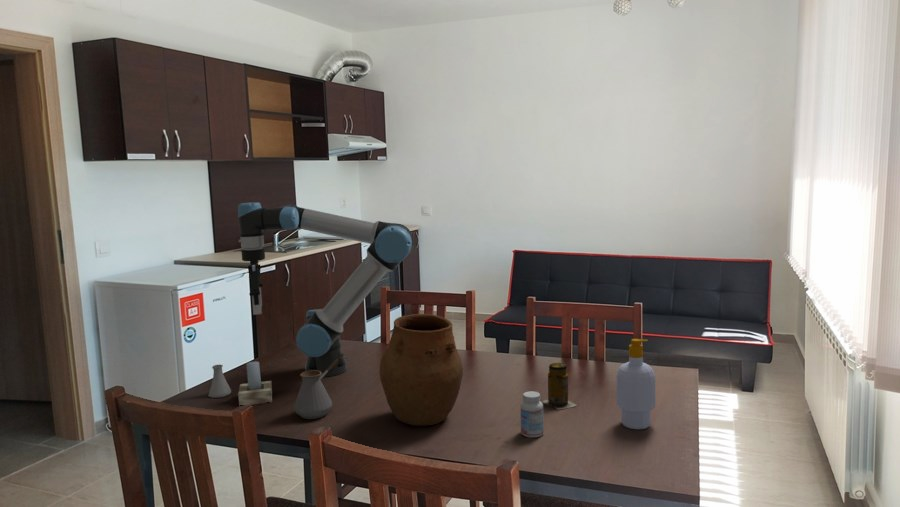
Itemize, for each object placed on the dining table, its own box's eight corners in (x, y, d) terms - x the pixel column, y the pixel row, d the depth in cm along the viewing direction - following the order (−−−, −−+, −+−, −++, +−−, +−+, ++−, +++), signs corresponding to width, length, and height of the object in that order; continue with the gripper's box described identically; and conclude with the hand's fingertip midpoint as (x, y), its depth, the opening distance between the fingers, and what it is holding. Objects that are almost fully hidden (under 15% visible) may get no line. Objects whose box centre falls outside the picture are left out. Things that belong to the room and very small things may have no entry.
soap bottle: (658, 433, 173) (658, 345, 170) (618, 431, 175) (617, 344, 171) (652, 418, 183) (653, 335, 180) (615, 417, 185) (615, 334, 182)
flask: (224, 398, 213) (221, 369, 211) (204, 398, 214) (201, 368, 213) (235, 391, 220) (233, 362, 218) (216, 390, 221) (213, 362, 220)
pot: (434, 443, 172) (430, 333, 168) (364, 427, 185) (358, 324, 181) (479, 412, 192) (476, 313, 188) (413, 399, 205) (408, 307, 201)
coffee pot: (314, 424, 188) (311, 374, 186) (286, 417, 194) (282, 369, 192) (361, 400, 206) (358, 354, 204) (333, 395, 212) (330, 350, 210)
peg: (262, 396, 214) (259, 360, 212) (262, 400, 210) (258, 364, 208) (249, 397, 213) (246, 362, 211) (249, 401, 209) (245, 365, 207)
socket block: (272, 392, 217) (271, 380, 217) (271, 402, 208) (270, 390, 207) (241, 395, 215) (240, 384, 214) (239, 406, 205) (238, 394, 205)
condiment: (561, 397, 202) (560, 360, 200) (577, 406, 195) (577, 367, 193) (541, 401, 199) (540, 364, 197) (557, 410, 191) (557, 371, 190)
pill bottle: (519, 430, 178) (518, 390, 177) (540, 428, 179) (540, 389, 177) (523, 439, 172) (522, 398, 171) (546, 437, 173) (545, 397, 171)
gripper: (242, 245, 230) (247, 304, 232) (239, 253, 206) (245, 318, 208) (264, 243, 231) (269, 302, 234) (263, 251, 208) (269, 316, 210)
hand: (257, 310), depth 221 cm, fingers open, 13 cm apart
